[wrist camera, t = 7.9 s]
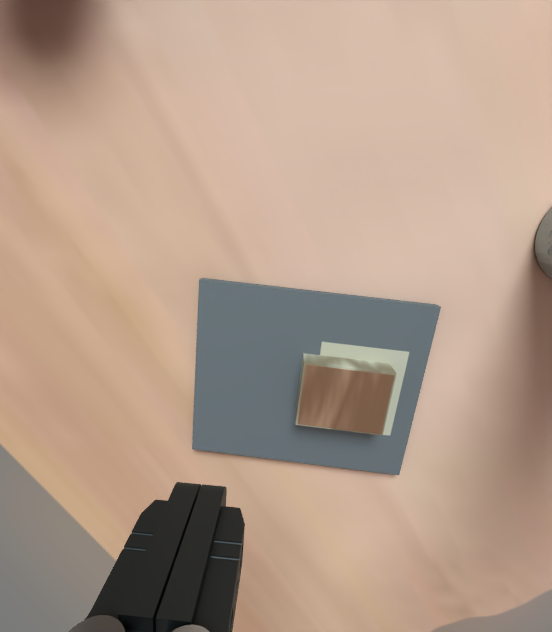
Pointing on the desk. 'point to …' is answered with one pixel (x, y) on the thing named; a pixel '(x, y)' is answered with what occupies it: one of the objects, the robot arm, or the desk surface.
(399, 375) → the rubber mat
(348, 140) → the desk surface
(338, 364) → the birch tile
